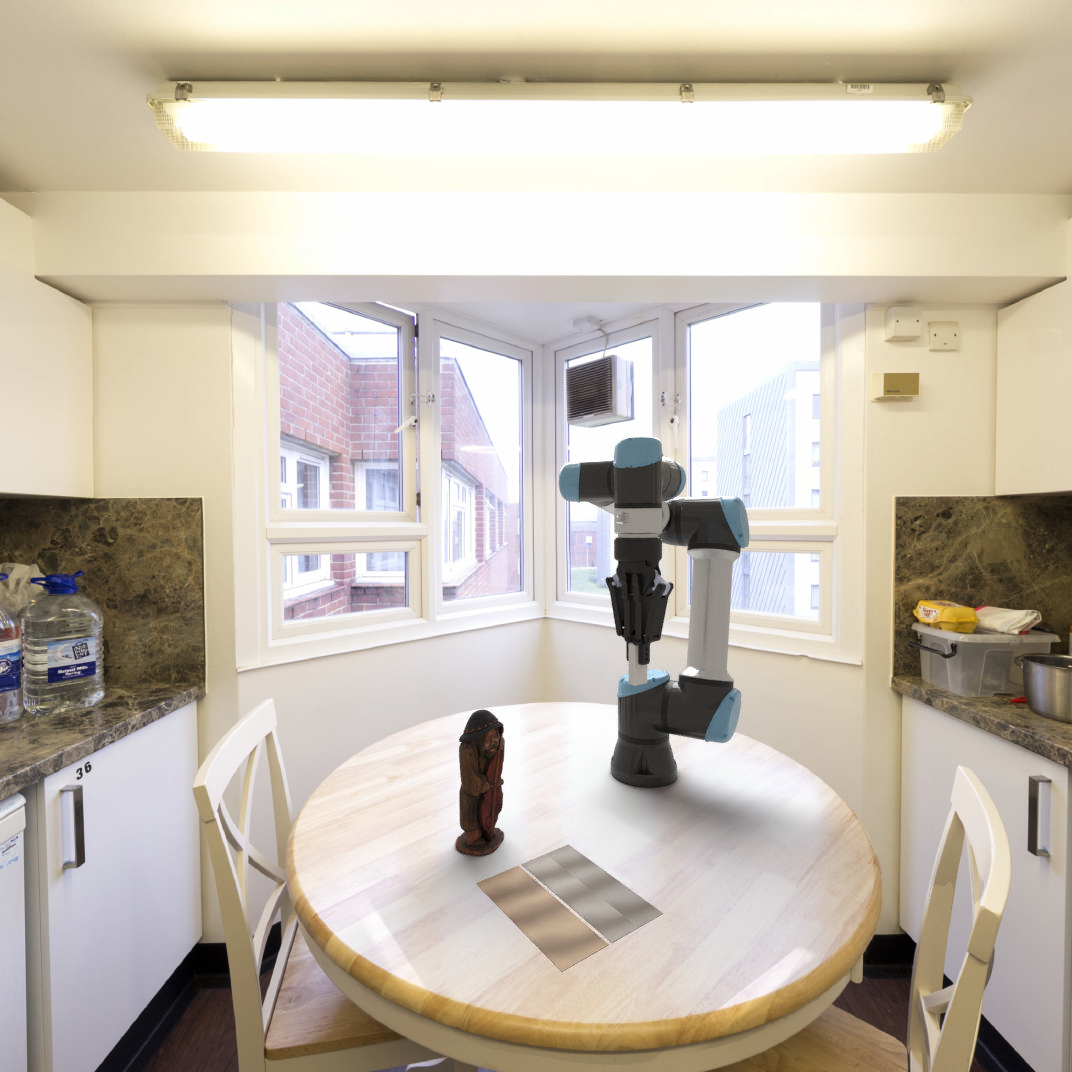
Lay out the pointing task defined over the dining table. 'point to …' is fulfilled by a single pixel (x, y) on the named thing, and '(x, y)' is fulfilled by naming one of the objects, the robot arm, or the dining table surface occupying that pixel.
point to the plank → (542, 917)
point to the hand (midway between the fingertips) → (637, 683)
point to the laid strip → (592, 892)
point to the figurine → (481, 784)
